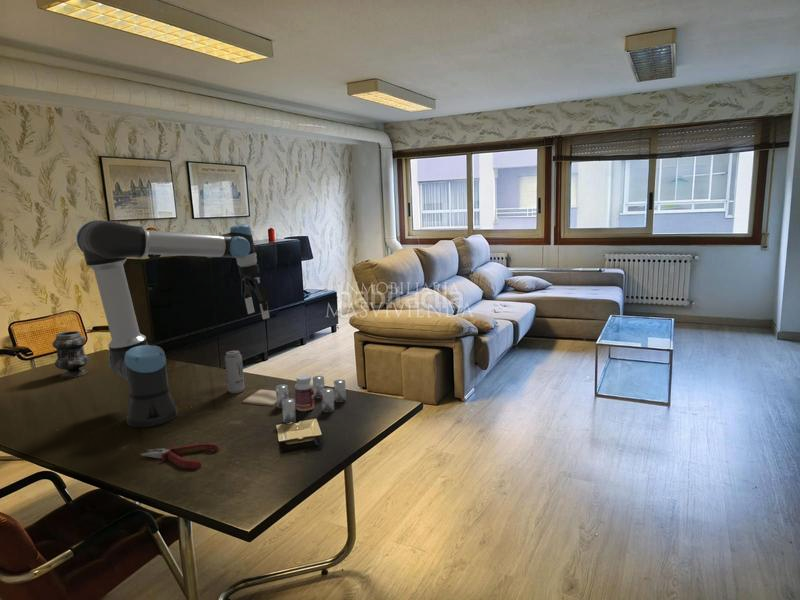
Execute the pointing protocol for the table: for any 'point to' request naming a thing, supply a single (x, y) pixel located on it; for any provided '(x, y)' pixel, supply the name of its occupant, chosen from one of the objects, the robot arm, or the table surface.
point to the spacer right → (327, 399)
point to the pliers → (174, 452)
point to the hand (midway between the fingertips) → (258, 315)
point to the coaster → (262, 398)
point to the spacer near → (289, 410)
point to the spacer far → (318, 385)
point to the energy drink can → (234, 371)
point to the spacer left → (281, 394)
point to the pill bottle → (304, 393)
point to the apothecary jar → (70, 353)
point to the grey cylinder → (339, 390)
